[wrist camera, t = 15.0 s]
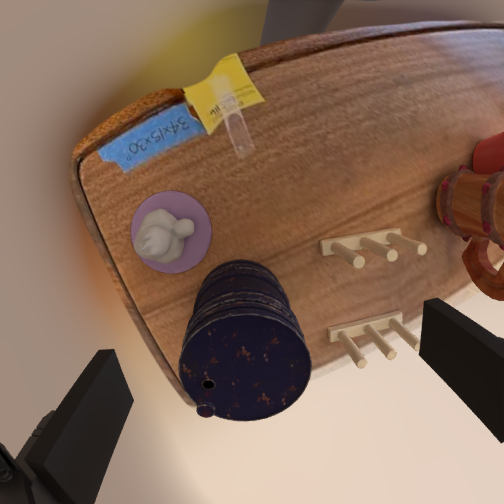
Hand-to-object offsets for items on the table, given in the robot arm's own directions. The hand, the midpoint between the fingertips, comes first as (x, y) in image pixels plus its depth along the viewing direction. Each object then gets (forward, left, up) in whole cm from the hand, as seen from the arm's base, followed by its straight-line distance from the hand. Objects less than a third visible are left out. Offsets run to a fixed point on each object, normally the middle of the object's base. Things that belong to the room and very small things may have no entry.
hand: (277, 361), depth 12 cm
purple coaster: (-3, -8, -23) cm, 25 cm away
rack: (+7, +13, -23) cm, 27 cm away
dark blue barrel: (+6, -2, -24) cm, 24 cm away
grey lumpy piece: (-3, -8, -23) cm, 24 cm away
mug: (+1, +27, -24) cm, 36 cm away
